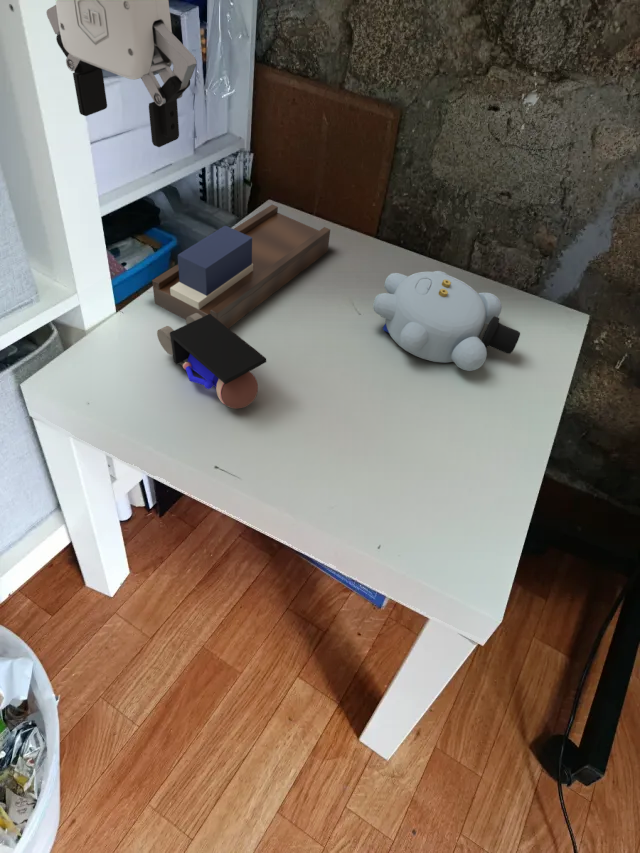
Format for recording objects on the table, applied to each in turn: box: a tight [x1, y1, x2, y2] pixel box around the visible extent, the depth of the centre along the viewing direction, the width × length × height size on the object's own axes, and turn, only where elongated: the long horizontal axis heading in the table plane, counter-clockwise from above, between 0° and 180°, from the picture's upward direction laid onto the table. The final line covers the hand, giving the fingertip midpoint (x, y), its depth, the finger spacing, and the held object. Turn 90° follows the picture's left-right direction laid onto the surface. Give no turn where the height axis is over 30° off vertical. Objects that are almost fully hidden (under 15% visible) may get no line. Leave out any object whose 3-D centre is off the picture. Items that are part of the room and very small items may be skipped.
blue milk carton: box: [170, 224, 253, 309], centre depth 88 cm, size 12×5×6 cm, turn 147°
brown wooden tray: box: [151, 204, 331, 329], centre depth 96 cm, size 28×11×4 cm, turn 147°
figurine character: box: [156, 313, 267, 410], centre depth 79 cm, size 7×8×15 cm
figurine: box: [372, 270, 521, 372], centre depth 89 cm, size 17×8×20 cm
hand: (129, 126), depth 64 cm, fingers open, 9 cm apart
